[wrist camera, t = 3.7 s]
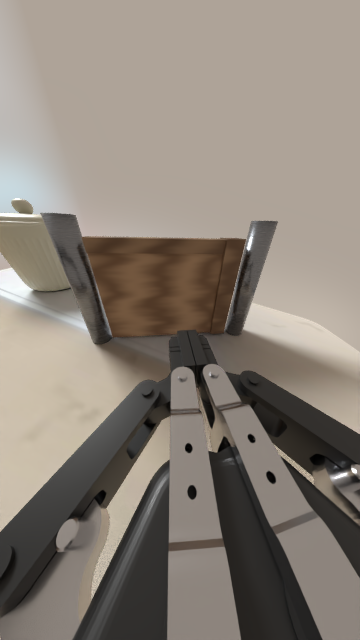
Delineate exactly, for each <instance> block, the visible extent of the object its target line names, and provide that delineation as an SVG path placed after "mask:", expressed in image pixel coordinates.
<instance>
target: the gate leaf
mask: <svg viewBox="0 0 360 640" xmlns="http://www.w3.org/2000/svg"><path fill="white" fill-rule="evenodd" d="M81 238H82V241H83V244H84V247H85V251H86V253H87V254H88V258H89V261H90V264H91V268H92V271H93V274H94V277H95V281H96V284H97V287H98V291H99V294H100V297H101V300H102V304H103V307H104V310H105V314H106V317H107V320H108V323H109V327H110V330H111V333H112V337H113V338H116V337H133V336H150V335H168V334H177V331H179V330H195V329H196V331H197V333H203V332H210V334H218V333H224V329H225V325H226V321H227V316H228V312H229V308H230V304H231V300H232V296H233V291H234V287H235V283H236V279H237V275H238V271H239V266H240V262H241V258H242V254H243V250H244V246H245V242H246V239H239V238H220V239H204V238H155V237H152V238H151V237H150V238H149V237H104V236H102V237H101V236H87V237H81Z"/></svg>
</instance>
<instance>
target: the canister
mask: <svg viewBox="0 0 360 640" xmlns="http://www.w3.org/2000/svg"><path fill="white" fill-rule="evenodd" d="M11 203H12V206H13V207H14V209H15V210H16V211H18V212H19V213H20V214H19V213H0V252H1V253H2V255H3V256H4V257H5V259H6V260H7V261H8V263H9V264H10V265H11V267H12V268H13V269H14V271H15V272H16V273H17V274H18V276H19V277H20V278H21V279H22V281H23V282H24V283H25V284H26V285H27V286H29V287H30V288H32V289H34V290H37V291H57V290H62V289H67V288H71V287H70V284H69V282H68V280H67V277H66V275H65V272H64V270H63V267H62V265H61V263H60V260H59V258H58V255H57V253H56V250H55V248H54V246H53V243H52V241H51V238H50V236H49V233H48V231H47V228H46V226H45V224H44V221H43V219H42V216H41V215H35V214H32V213H33V207H32V205H31V204H30V203H29V202H28V201H26V200H23V199H13V200H12V202H11Z"/></svg>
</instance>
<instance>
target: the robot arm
mask: <svg viewBox="0 0 360 640" xmlns="http://www.w3.org/2000/svg"><path fill="white" fill-rule="evenodd" d="M169 355H170V368H171V372H170V374H169V376H168V377H167V378H165V379H164V380H162V381H159V382H155V381H153V380H145V381H143V382H141V383H139V384H138V385H137V386H136V387H135V388H134V389H133V391H132V392H131V393H130V394H129V395H128V396H127V397H126V398H125V399H124V400H123V401H122V402H121V403H120V404H119V406H118V407H117V408H116V409H115V410H114V411H113V412H112V413H111V414H110V415H109V416H108V417H107V418H106V419H105V421H104V422H103V423H102V424H101V425H100V426H99V427H98V428H97V429H96V430H95V431H94V432H93V433H92V434H91V436H90V437H89V438H88V439H87V440H86V441H85V442H84V443H83V444H82V445H81V446H80V447H79V448H78V449H77V450H76V452H75V453H74V454H73V455H72V456H71V457H70V458H69V459H68V460H67V461H66V462H65V463H64V464H63V465H62V467H61V468H60V469H59V470H58V471H57V472H56V473H55V474H54V475H53V476H52V477H51V478H50V479H49V480H48V482H47V483H46V484H45V485H44V486H43V487H42V488H41V489H40V490H39V491H38V492H37V493H36V494H35V495H34V497H33V498H32V499H31V500H30V501H29V502H28V503H27V504H26V505H25V506H24V507H23V508H22V509H21V510H20V512H19V513H18V514H17V515H16V516H15V517H14V518H13V519H12V520H11V521H10V522H9V523H8V524H7V525H6V527H5V528H4V529H3V530H2V531H1V532H0V638H1V640H360V434H358V433H357V432H355V431H353V430H352V429H350V428H348V427H347V426H345V425H343V424H341V423H340V422H338V421H336V420H335V419H333V418H331V417H330V416H328V415H326V414H325V413H323V412H321V411H320V410H318V409H316V408H314V407H313V406H311V405H309V404H308V403H306V402H304V401H303V400H301V399H299V398H298V397H296V396H294V395H293V394H291V393H289V392H288V391H286V390H284V389H282V388H281V387H279V386H277V385H276V384H274V383H272V382H271V381H269V380H267V379H266V378H264V377H262V376H261V375H259V374H257V373H255V372H253V371H244V372H242V373H241V375H236V374H231V373H228V372H225V371H224V370H223V368H221V367H220V366H218V364H217V362H216V359H215V357H214V355H213V353H212V350H211V348H210V346H209V343H208V341H207V339H206V338H205V337H204V336H203V335H198V334H197V331H196V329H195V330H179V331H177V337H171V339H170V341H169ZM197 387H198V389H199V400H200V403H201V406H202V410H203V413H204V416H205V419H206V423H207V426H208V429H209V434H210V442H211V447H212V450H213V452H211V451H208V448H207V441H206V435H205V429H204V423H203V417H202V413H201V411H200V409H199V404H198V398H197V391H196V388H197ZM169 416H170V460H168V461H167V462H166V463H164V464H163V465H162V466H161V467H160V468H159V469H158V471H157V472H156V473H155V475H154V476H153V478H152V479H151V481H150V483H149V485H148V487H147V489H146V491H145V493H144V495H143V497H142V499H141V501H140V503H139V505H138V507H137V509H136V511H135V513H134V515H133V517H132V519H131V521H130V523H129V525H128V527H127V529H126V531H125V533H124V536H123V538H122V540H121V542H120V544H119V546H118V548H117V550H116V552H115V554H114V556H113V558H112V560H111V562H110V564H109V566H108V568H107V570H106V572H105V574H104V576H103V578H102V580H101V582H100V584H99V586H98V588H97V590H96V593H95V595H94V597H93V599H92V601H91V588H92V580H93V575H94V571H95V567H96V564H97V561H98V559H99V557H100V554H101V552H102V550H103V548H104V546H105V543H106V540H107V536H108V532H109V514H108V511H107V509H106V508H107V506H108V505H109V503H110V501H111V500H112V498H113V497H114V495H115V494H116V492H117V490H118V489H119V487H120V486H121V484H122V482H123V481H124V479H125V478H126V476H127V475H128V473H129V471H130V470H131V468H132V467H133V465H134V463H135V462H136V460H137V459H138V457H139V456H140V454H141V452H142V451H143V449H144V448H145V446H146V444H147V443H148V441H149V440H150V438H151V437H152V435H153V433H154V432H155V430H156V429H157V427H158V425H159V424H160V422H161V420H163V419H165V418H167V417H169ZM273 444H274V445H276V446H277V447H278V448H279V449H280V450H282V451H283V452H284V453H285V454H287V455H288V456H289V457H290V458H291V459H293V460H294V461H295V462H296V463H297V464H299V465H300V466H301V467H302V468H304V469H305V470H306V471H307V472H308V473H310V474H311V475H312V476H313V478H314V480H315V481H314V485H315V486H314V485H313V484H312V483H311V482H310V481H309V480H307V479H306V478H305V477H304V476H303V475H302V474H301V473H300V472H298V471H297V470H296V469H295V468H294V467H293V466H292V465H291V464H289V463H288V462H287V461H286V460H285V459H284V458H282V457H281V456H280V455H279V453H278V452H277V450H276V448H275V447H274V445H273Z"/></svg>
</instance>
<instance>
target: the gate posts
mask: <svg viewBox="0 0 360 640" xmlns="http://www.w3.org/2000/svg"><path fill="white" fill-rule="evenodd" d="M40 214H41V216H42V219H43V221H44V224H45V226H46V228H47V231H48V233H49V236H50V238H51V241H52V243H53V246H54V248H55V250H56V253H57V255H58V258H59V260H60V263H61V265H62V267H63V270H64V272H65V275H66V277H67V280H68V282H69V284H70V287H71V289H72V292H73V294H74V297H75V299H76V302H77V304H78V306H79V309H80V311H81V314H82V316H83V319H84V321H85V323H86V326H87V328H88V331H89V333H90V336H91V338H92V340H93V342H94V343H95V344H103V343H106V342H108V341H109V340H110V339H111V338H112V333H111V330H110V327H109V324H108V320H107V317H106V314H105V310H104V307H103V304H102V301H101V297H100V294H99V291H98V287H97V284H96V281H95V278H94V274H93V271H92V268H91V264H90V261H89V258H88V255H87V253H86V251H85V247H84V244H83V241H82V238H81V237H82V235H81V232H80V228H79V225H78V222H77V218H76V215H71V214H58V213H40ZM277 223H278V222H277V221H251V224H250V228H249V233H248V237H247V241H246V245H245V249H244V254H243V257H242V261H241V265H240V270H239V274H238V278H237V282H236V286H235V290H234V294H233V298H232V302H231V307H230V311H229V315H228V319H227V323H226V327H225V331H226V332H227V333H228V334H230V335H234V336H238V335H240V334H241V333H242V330H243V327H244V324H245V321H246V318H247V315H248V312H249V309H250V306H251V303H252V299H253V296H254V293H255V290H256V287H257V284H258V281H259V278H260V275H261V272H262V269H263V266H264V263H265V260H266V257H267V254H268V251H269V248H270V244H271V241H272V238H273V235H274V232H275V229H276V226H277Z"/></svg>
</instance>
